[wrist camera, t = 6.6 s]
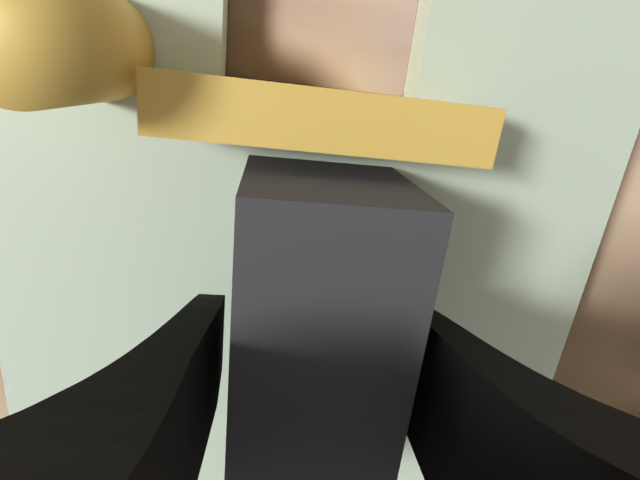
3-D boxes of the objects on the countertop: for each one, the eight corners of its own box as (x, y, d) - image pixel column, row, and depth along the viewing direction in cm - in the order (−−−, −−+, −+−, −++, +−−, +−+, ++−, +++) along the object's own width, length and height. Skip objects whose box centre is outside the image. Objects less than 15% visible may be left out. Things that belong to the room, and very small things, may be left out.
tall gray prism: (350, 423, 13) (380, 555, 10) (236, 422, 13) (221, 560, 9) (391, 167, 11) (454, 213, 7) (248, 154, 10) (235, 197, 7)
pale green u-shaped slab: (477, 536, 17) (542, 682, 13) (49, 547, 15) (-36, 725, 11) (664, -38, 11) (916, -114, 7) (-50, -161, 9) (-361, -391, 4)
